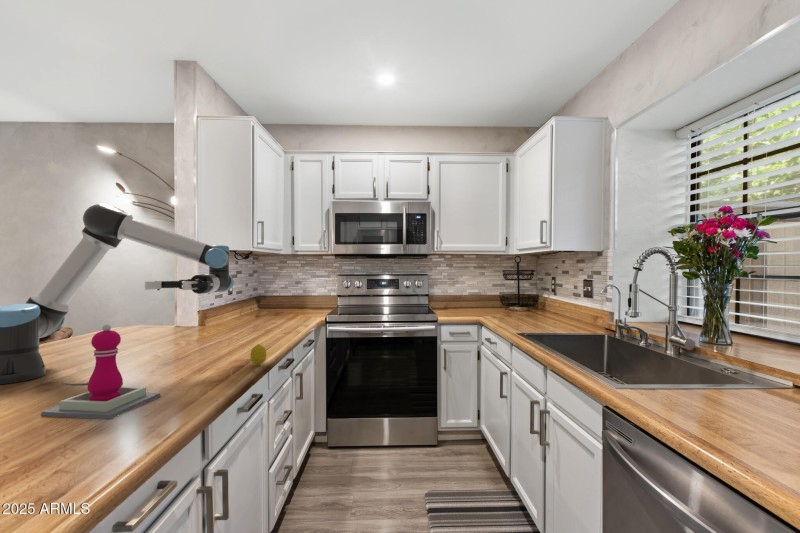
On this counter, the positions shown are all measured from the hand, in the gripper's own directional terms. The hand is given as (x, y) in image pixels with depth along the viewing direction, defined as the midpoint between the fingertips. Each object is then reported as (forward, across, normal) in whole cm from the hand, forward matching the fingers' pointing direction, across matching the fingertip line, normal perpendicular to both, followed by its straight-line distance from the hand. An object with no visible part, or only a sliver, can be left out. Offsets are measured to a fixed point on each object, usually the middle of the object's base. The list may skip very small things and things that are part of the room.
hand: (164, 285), depth 123 cm
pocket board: (+27, -5, -30) cm, 40 cm away
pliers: (+9, +15, -31) cm, 35 cm away
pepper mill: (+27, -5, -29) cm, 40 cm away
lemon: (-16, -25, -30) cm, 42 cm away
